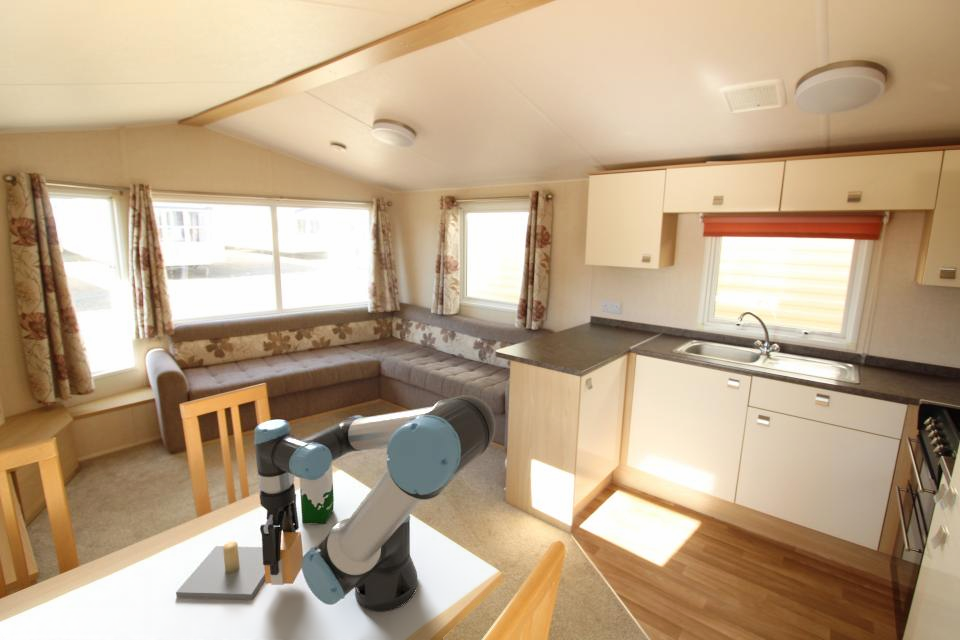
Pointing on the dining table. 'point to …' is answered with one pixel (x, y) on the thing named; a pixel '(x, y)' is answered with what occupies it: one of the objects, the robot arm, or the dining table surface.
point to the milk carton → (317, 498)
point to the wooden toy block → (289, 557)
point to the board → (226, 574)
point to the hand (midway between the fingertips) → (284, 572)
